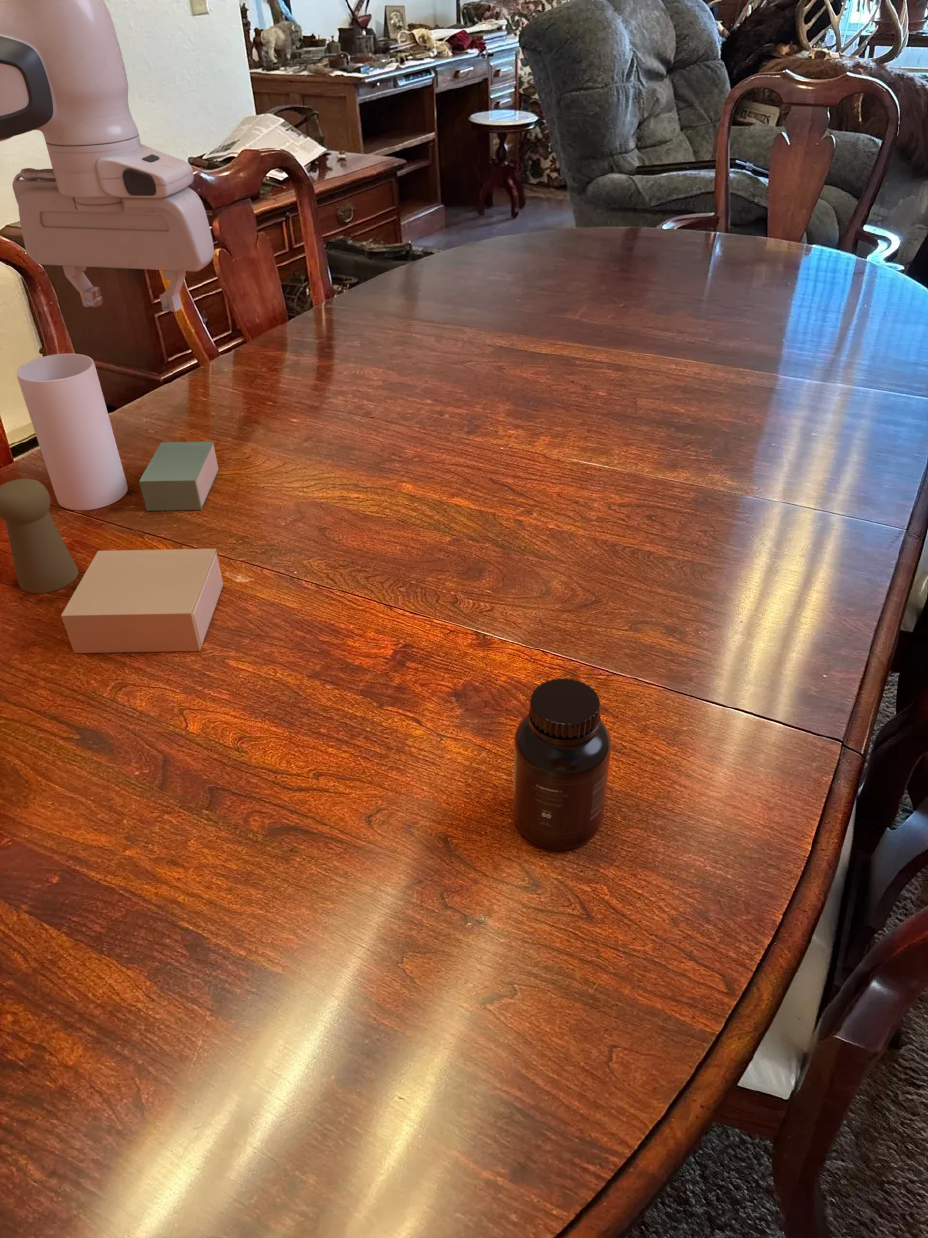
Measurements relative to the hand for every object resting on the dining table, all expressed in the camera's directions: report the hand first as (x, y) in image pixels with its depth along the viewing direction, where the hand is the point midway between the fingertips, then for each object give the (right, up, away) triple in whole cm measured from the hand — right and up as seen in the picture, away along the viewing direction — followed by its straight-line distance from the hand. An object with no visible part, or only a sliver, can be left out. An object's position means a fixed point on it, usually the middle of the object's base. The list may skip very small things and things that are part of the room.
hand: (133, 307), depth 101 cm
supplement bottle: (+43, -49, -30) cm, 72 cm away
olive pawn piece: (-8, -30, -3) cm, 31 cm away
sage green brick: (+2, -18, +12) cm, 22 cm away
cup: (-9, -19, +11) cm, 24 cm away
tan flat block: (+5, -34, -9) cm, 36 cm away
